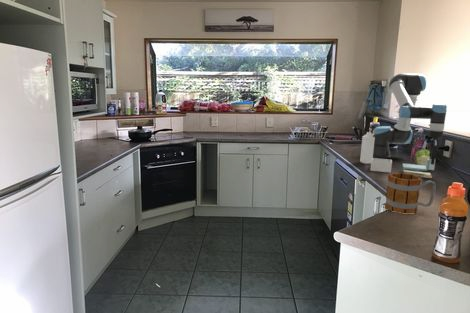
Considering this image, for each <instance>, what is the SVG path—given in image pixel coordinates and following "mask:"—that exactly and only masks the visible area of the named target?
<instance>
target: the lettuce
mask: <svg viewBox="0 0 470 313" xmlns="http://www.w3.org/2000/svg"><path fill="white" fill-rule="evenodd" d="M429 154H430V149H423V148H422V149H419V150H417V151H416V152H415V154H414V157H413V159H414V162H415V165H424V166H426V164H427V159H429V157H430V156H429Z"/></svg>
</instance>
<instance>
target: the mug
mask: <svg viewBox="0 0 470 313" xmlns="http://www.w3.org/2000/svg"><path fill="white" fill-rule="evenodd" d="M387 176H388V177H387V178H388V182H387V188H386V194H385V197H386V199H385V206H384V209H386V210H387V211H389V210H392V211H396V212H401V213H416V214H417V212H418V206H422V207H425V208H426V207H431V205H432V204H433V202H434V198H435V195H436V194H435V193H436V190H437V186H436V185H437V184H436V182H435V181H432V180H431V179H429V180H428V179H427V180H425V181H424V182H422V178H423V177H421V176H417V175H413V174H406V173H404V172H391V173H390V172H389V174H388V175H387ZM421 182H422V183H421ZM428 184H432V188H431V192H430V196H429V197H430V198H429V201H428V203H424V202H421V201H420V202H419V198H420V197H419V196H420V191H421V190H420V188H421V187H422V188H423V187H425V186H426V185H428ZM416 211H417V212H416Z"/></svg>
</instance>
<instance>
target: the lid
mask: <svg viewBox="0 0 470 313" xmlns="http://www.w3.org/2000/svg"><path fill="white" fill-rule="evenodd" d="M429 164H430V159H427V164H426V166H424V165H417V164H414V163H413V164H412V163H402V168H403V170H412V171H422V172H423V171H424V172H428V171H433V170H432V169H429ZM435 166H436V165H435ZM435 166H434V168H435Z"/></svg>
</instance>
